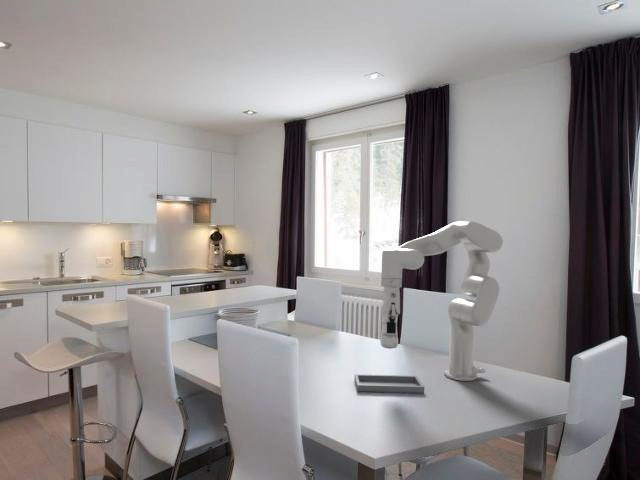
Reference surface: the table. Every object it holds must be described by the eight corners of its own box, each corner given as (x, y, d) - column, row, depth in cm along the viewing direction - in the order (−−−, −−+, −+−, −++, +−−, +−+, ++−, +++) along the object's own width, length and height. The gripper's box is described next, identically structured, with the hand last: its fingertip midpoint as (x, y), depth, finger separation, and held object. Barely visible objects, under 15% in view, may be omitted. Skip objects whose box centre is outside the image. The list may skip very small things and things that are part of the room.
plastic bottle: (397, 351, 159) (399, 296, 159) (379, 349, 161) (380, 295, 160) (398, 346, 166) (400, 293, 165) (380, 345, 167) (382, 292, 167)
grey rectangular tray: (416, 382, 170) (416, 375, 170) (424, 394, 158) (424, 386, 158) (354, 381, 170) (354, 374, 169) (357, 392, 158) (357, 385, 157)
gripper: (406, 285, 154) (404, 337, 155) (397, 280, 171) (395, 326, 172) (384, 285, 154) (383, 336, 155) (378, 279, 171) (376, 326, 172)
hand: (389, 330), depth 163 cm, fingers closed on plastic bottle, 5 cm apart
